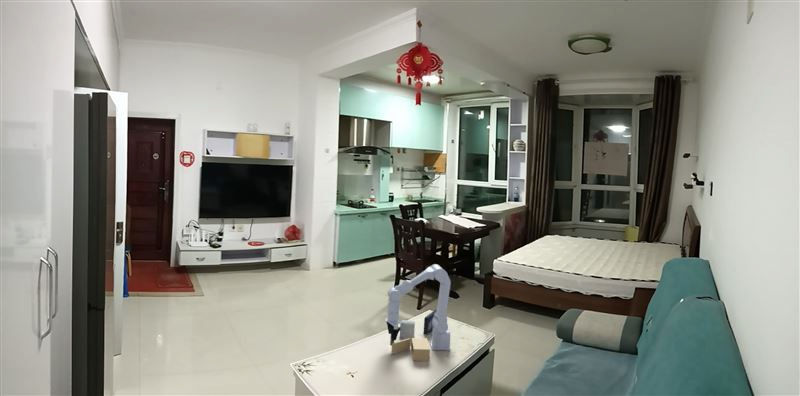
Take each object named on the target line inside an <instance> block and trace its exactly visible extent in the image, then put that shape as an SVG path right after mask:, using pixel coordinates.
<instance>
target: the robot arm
mask: <svg viewBox="0 0 800 396" xmlns="http://www.w3.org/2000/svg"><path fill="white" fill-rule="evenodd" d="M426 280H432V281H434V280H435V281H438V282H439V283H440V284H439V291H438V300H437V304H436V305H437V306H436V309H437V311H436V312H435V314H434V317H433V319H432V324H433V325H434V327H433V331H432V332H431V333H432V335H431V336H432V337H431V339H432V340H431V341H430V342H429V343H430V347H431V348H430V349H431V350H433V351H450V349H451V348H450V347H451V331H450V330H448V329H449V325H448V317H447V313H448V312H447V310H448V304H449V297H450V292H451V285H452V284H451V283H452V282H451V279H450V277H449V275H448V272H447V271H446V270H445V269H443V267H441V266H440V264H436V263H434V264H432V265H430V266H428V267H427V268H426V269H425V270H423V271H422V272H421V273H419V274H418V275H416V276H415V277H414V278H412V279H410V280H408V279H406V280H405V279H404V280H403V281H402V283H400V284H398V285H395V286H394V287H391V288H389V290H388V291H387V296H388V302H387V303H388V304H387V318H385V320H384V321H385V323H386V326H387V331H388V335H390V337H391V339H392V341H394V342H395V341H397V338H398V335H399V334H400V329H401V328H400V326H399V323H400V322H399V321H400V320H399V319H400V300H401V299H402V297H403V296H405V295H406V294H408V293H409V292H411V291H412V290H413V289H414V287H415V286H417V285H418V284H420V283H422V282H424V281H426Z"/></svg>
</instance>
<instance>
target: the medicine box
mask: <svg viewBox="0 0 800 396" xmlns="http://www.w3.org/2000/svg"><path fill="white" fill-rule="evenodd" d="M415 322H416V321H415V320H404V319H403V320H402V319H401V320H400V322H399V323H400V324H399V327H400V328H401V329H400V331H399V338H400V339H408V338H411V340H412V338H415V329H416V328H415V325H416V323H415Z"/></svg>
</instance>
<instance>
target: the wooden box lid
mask: <svg viewBox="0 0 800 396" xmlns="http://www.w3.org/2000/svg"><path fill="white" fill-rule="evenodd" d="M411 340H412V339H411V338H404V339H402V340H399V341H396V342H395V340H394V341H392V339H391V336H390V340H389V341H390V342H389V345H390V346H391V351H390V352H391V353H390V354H391V355H396V354H398V353H401V352H404V351H408V350H411Z"/></svg>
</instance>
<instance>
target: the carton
mask: <svg viewBox="0 0 800 396" xmlns="http://www.w3.org/2000/svg"><path fill="white" fill-rule="evenodd" d="M410 351H411V356H412V361H414V362H415V361H416V362H430V358H431V357H430V356H431V354H430V353H431V348H430V345H429V341H428V338H427V337H425V338H424V337H420V338H419V337H414V338H412V339H411V340H410Z"/></svg>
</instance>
